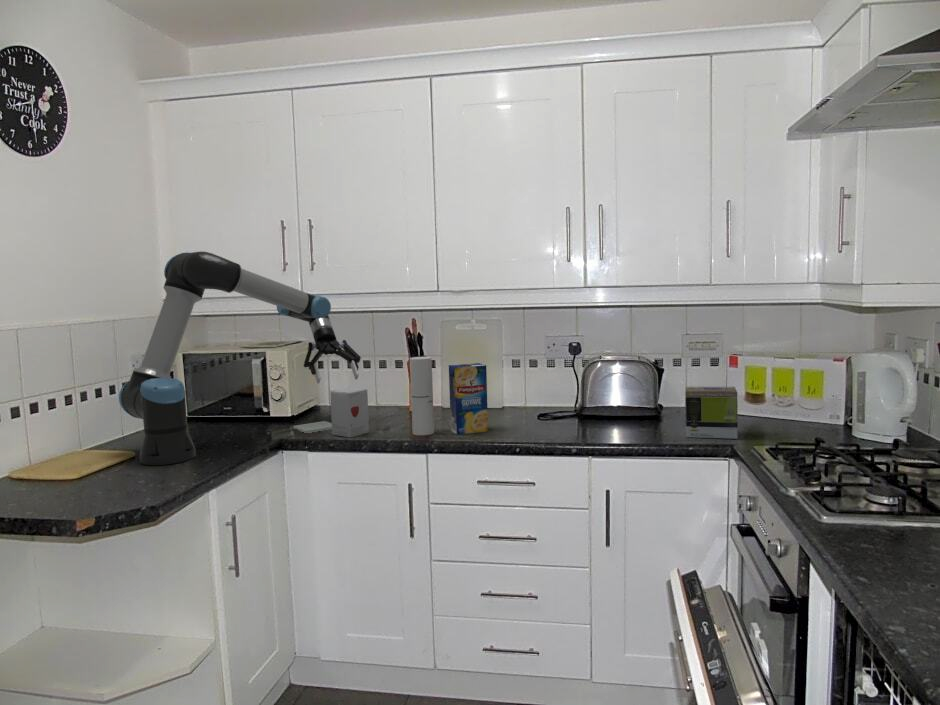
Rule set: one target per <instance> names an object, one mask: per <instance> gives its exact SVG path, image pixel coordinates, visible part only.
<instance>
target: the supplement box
mask: <svg viewBox="0 0 940 705" xmlns="http://www.w3.org/2000/svg"><path fill="white" fill-rule="evenodd" d="M368 397H369V396H368V389H367V388H360V387H351V386H350V387H343V388H339V389H338V388H337V389H333V390H332V389H331V390H330V412H331V413H330V415H331V416H330V417H331V423H332V430H331V435H333V436H339V437H346V438H353V437H357V436H361V435H365V434H369V433H370V426H369V424H370V422H369V400H368V399H369V398H368Z"/></svg>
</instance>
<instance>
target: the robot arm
mask: <svg viewBox="0 0 940 705" xmlns="http://www.w3.org/2000/svg"><path fill="white" fill-rule="evenodd" d="M163 272H164V274H163V275H164V277H165V282H164V283H163V284H164V285H163V287H162V288H163V289H164V291H165V293H166V294H165V297H164V300H163V303H162V306H161V309H160V312H159V314H158V317H157V319H156V320H157V321H156V323H155V325H154V328H153V331H152V334H151V337H150V339H149V342H148V345H147V348H146V351H145V353H144V357H143V360H142V361H141V365H140V366H139V367H137V368H135V369H133V370H132V373H131V376H130V379H129V380H128V381H127V382H125V383H124V384H123V385H122V387H121V388H120V390H119V394H118V402H119V404H120V407H121V408H122V410H123V411H124V412H125V413H126V414H128V415H130V416H131V417H132V418H136V419H142V420H143V421H142V422H143V423H142V424H143V435H144V436H143V441H142V444H141V448H140V451H139V463H140V464H142V465H145V466H146V465H147V466H163V465H166V466H167V465H172V464H177V463H179V464H180V463H183V462H186V461H189V460H192V459H194V458H195V457H196V456H197V454H196V446H195V444H194V442H193V440H192V437H191V435H190V433H189V430H188V417H187V416H188V415H187V404H186V391H185V386H184V383H183V382H182V381H181V380H179V379H176V378H173V377H172V376H171V371H172V370H173V369H172V368H173V366H174V363H175V360H176V357H177V355H178V352H179V348H180V345H181V343H182V340H183V336H184V334H185V332H186V328H187V326H188V324H189V320H190V318H191V315H192V312H193V309H194V306H195V304H196V303H198V302H199V301H202V298H203V295H204V293H205V290H217V291H221V292H225V293H229V294H231V293H233V292H236V293H238V294H241V295H244V296H247V297H250V298H252V299H253V298H254V299H256V300H258V301H261V302H265V303H268V304H270V305H273V306H276V311H277V313H278V314H280V315H283V316H285V317H291V318H294V319H298V320H301V321H304V322H308V324H309V327H310V330H311V333H312V336H313V339H314V343H313V342H311V341H310V342H308V345H307V353H306V356H305V359H304V362H303V367H304V368H308V370H310V374H311V375H314V377H315V380H316V384H320V383H321V379H322V378H321V374H320V371H319V368H318V365H317V362H318V361H319V359H320V358H321V357H322V355H325V356H328V355H336V356H338V357H341V358H342V359H344V360H345V361H346V362H349V363H350V364H349V365H350V369H351V371H352V374H353V378H354V380H355V381H356V380H358V379H359V376H360V373H359V372H358V371H359V364H358V363H360V362H361V358H362V357H361V356H360V355H359V354H358V353H357V352H356V350H355V349H353V348H352V347H351V346H350V345H349V344H348V342H347V340H346V339H343V340H342V341H340V342H339V341H338V340H337V336H336V334H335V331H334V328H333V325H332V321H331V319H330V316H329V315H330V313H331V309H332V307H331V306H332V304H331V302H330V301H329V300H330V299H328V298H327V297H325V296H322V295H314V294H311V293H308V292H305V291H302V290H300V289H297V288H295V287H293V286H292V287H291V286H289V285H287V284H283V283H282V282H278V281H275V280H274V279H270V278H269V277H268V278H267V277H265V276H263V275H260V274H257V273H254V272H251V271H249V270H246V269H244V268H242V265H240V264H239V263H236V262H234V261H231V260H229V259H227V258H224V257H223V256H220V255H217V254H215V253H212V252H208V251H201V250H200V251H194V252H181V253H178V254H175V255H174V256H172V257H171V258H170V259H169V260H168V261H167V262H166V264H165V266H164V271H163ZM315 349H316V350H317V352H316V353H315V355H314V356H313V358H312V359H311V355H312V352H313V351H314V350H315ZM310 359H311V360H310Z"/></svg>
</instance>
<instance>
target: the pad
mask: <svg viewBox="0 0 940 705" xmlns="http://www.w3.org/2000/svg"><path fill="white" fill-rule="evenodd" d="M293 428H294V429H293ZM292 429H293V430H295V429H297V430H299V431H298V432H300V431H301V432H300V433H302V432H304V433H303V434H305V433H309V434H313V433H312V432H315V433H319V432H318V431H321V432H324V431H323V430H327V431H330V430H329V429H332V422H329V421H327V420H322V421H315V422H309V423H304V424H298V425H297V424H296V425H293V426H292ZM297 430H296V431H297Z"/></svg>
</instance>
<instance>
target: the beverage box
mask: <svg viewBox="0 0 940 705" xmlns="http://www.w3.org/2000/svg"><path fill="white" fill-rule="evenodd" d="M487 379H488V378H487V364H483V363H480V362H475V363H462V364H461V363H460V364H450V365H448V381H449V382H448V385H449V386H448V387H449V415H450V416H449V417H450V431H452V432H453V433H454V434H455V435H456V436H457V435H465V434H473V433H474V434H475V433H484V432H489V420H488V419H489V415H488V411H489V410H488V380H487Z"/></svg>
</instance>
